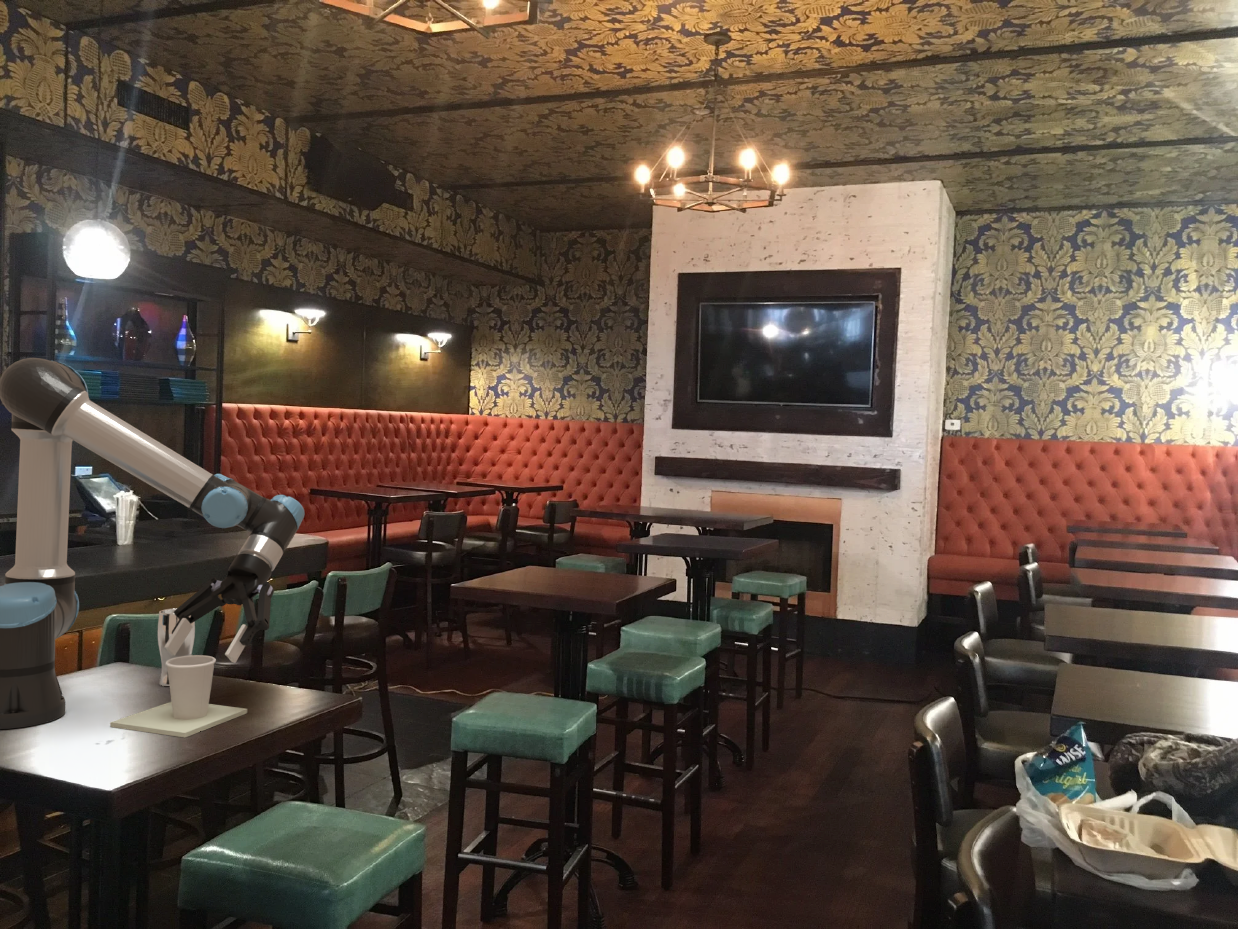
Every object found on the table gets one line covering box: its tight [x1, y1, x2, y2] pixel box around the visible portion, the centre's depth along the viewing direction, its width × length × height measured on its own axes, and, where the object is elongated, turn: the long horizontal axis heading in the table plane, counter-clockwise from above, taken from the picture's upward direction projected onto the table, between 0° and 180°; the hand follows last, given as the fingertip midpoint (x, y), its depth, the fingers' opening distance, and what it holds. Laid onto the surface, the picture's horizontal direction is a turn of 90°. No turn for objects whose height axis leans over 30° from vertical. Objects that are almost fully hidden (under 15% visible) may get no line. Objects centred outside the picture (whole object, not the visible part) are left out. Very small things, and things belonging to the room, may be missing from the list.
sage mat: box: [109, 701, 248, 738], centre depth 179 cm, size 16×16×1 cm
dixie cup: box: [166, 654, 217, 720], centre depth 179 cm, size 8×8×10 cm
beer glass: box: [157, 607, 196, 687], centre depth 203 cm, size 7×7×15 cm
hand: (199, 655), depth 182 cm, fingers open, 13 cm apart
